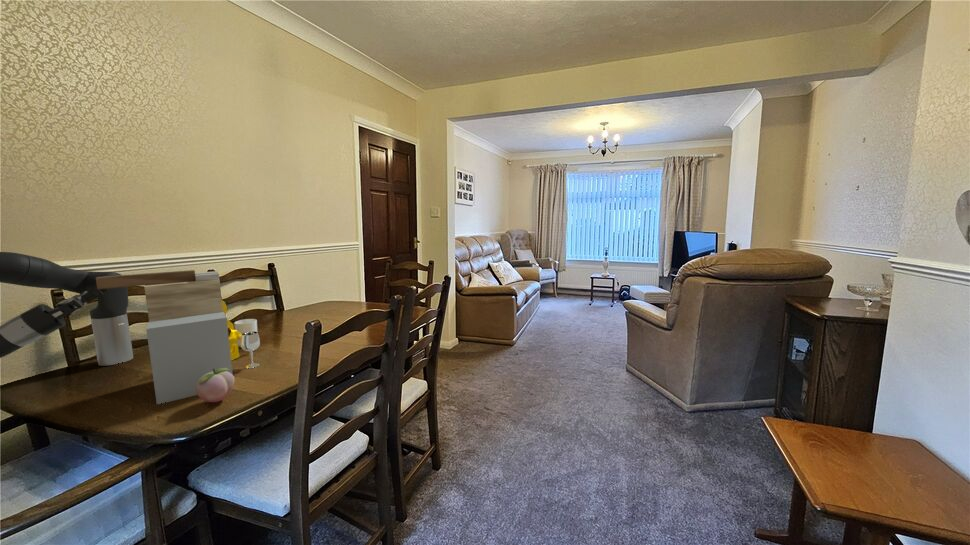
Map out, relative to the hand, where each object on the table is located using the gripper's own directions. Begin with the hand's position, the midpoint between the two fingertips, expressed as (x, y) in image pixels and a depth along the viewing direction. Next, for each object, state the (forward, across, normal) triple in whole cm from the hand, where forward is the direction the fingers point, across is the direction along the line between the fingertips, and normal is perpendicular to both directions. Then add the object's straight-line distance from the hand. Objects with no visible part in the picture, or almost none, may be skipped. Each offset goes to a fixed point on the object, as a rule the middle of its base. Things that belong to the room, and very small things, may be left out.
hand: (102, 288), depth 106 cm
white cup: (+15, +26, +46) cm, 55 cm away
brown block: (+11, 0, +6) cm, 13 cm away
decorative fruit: (+3, -26, +39) cm, 47 cm away
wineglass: (+13, -2, +45) cm, 47 cm away
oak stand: (0, 0, +37) cm, 37 cm away
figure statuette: (+8, +12, +42) cm, 44 cm away
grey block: (0, -12, +37) cm, 39 cm away
